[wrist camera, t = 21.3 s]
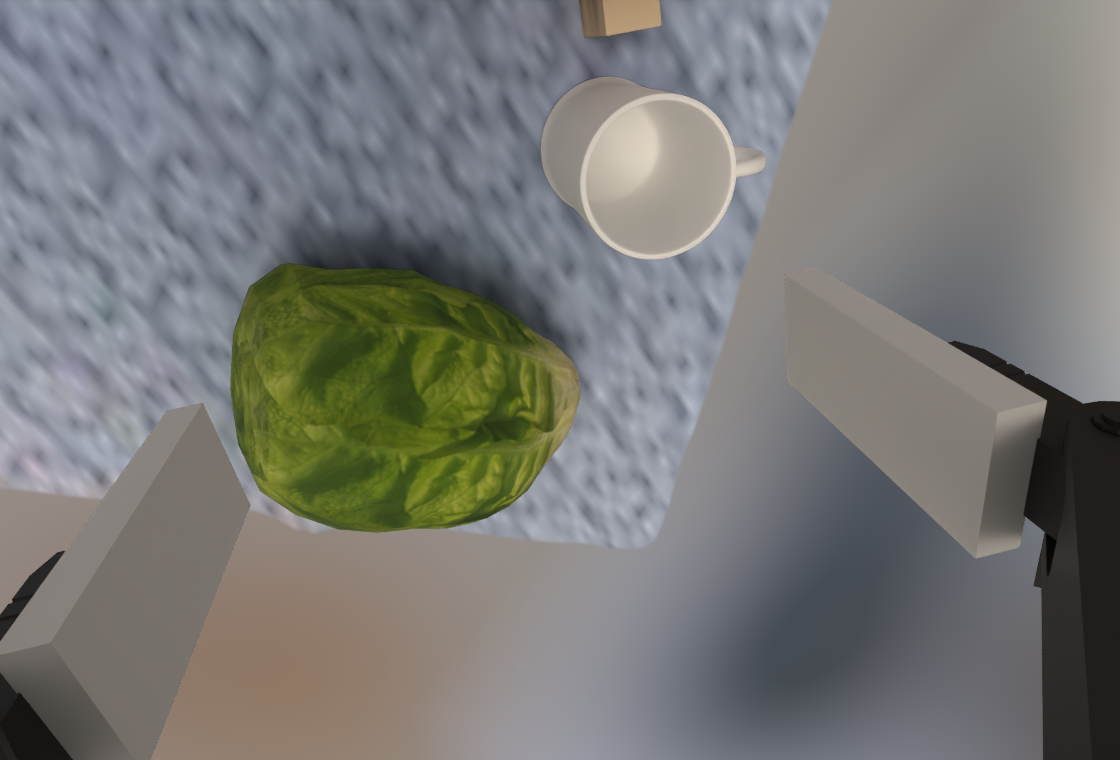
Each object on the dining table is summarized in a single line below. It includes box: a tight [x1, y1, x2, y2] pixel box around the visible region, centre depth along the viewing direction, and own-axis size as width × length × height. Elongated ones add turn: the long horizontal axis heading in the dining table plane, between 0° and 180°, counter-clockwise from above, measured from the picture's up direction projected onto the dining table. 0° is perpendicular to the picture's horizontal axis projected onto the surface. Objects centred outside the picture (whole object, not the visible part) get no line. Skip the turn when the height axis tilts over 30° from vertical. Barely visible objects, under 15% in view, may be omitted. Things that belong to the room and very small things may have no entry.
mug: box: [541, 77, 766, 259], centre depth 40 cm, size 12×8×12 cm
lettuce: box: [230, 263, 580, 533], centre depth 43 cm, size 16×21×15 cm
